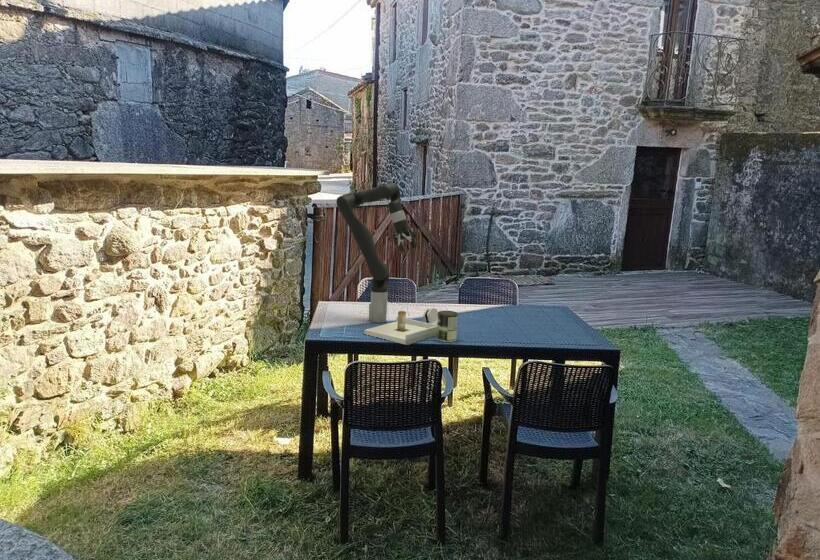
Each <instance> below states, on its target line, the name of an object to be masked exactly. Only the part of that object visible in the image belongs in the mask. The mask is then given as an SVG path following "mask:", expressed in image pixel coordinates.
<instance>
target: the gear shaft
mask: <svg viewBox="0 0 820 560" xmlns="http://www.w3.org/2000/svg"><path fill="white" fill-rule="evenodd" d="M406 314H407V312H406V311H403V310H399V311H398V312H397V317H398V326H397V331H401V332H405V319H406Z"/></svg>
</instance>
